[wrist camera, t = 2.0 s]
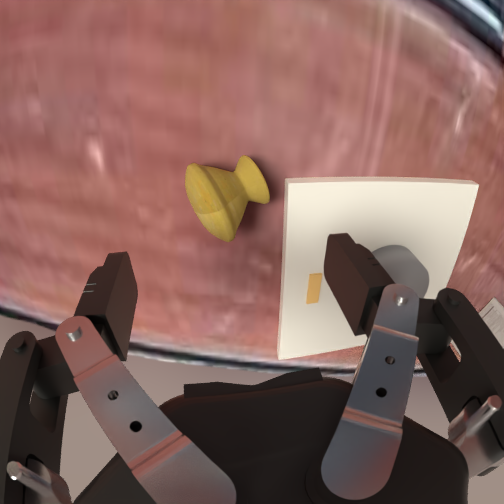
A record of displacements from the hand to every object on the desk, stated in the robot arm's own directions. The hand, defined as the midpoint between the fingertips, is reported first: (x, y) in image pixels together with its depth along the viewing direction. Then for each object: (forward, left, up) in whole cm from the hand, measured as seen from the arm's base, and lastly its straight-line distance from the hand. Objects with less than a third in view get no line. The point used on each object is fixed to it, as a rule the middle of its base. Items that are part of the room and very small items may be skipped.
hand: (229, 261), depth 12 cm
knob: (0, 0, -10) cm, 10 cm away
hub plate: (-13, +9, -9) cm, 19 cm away
